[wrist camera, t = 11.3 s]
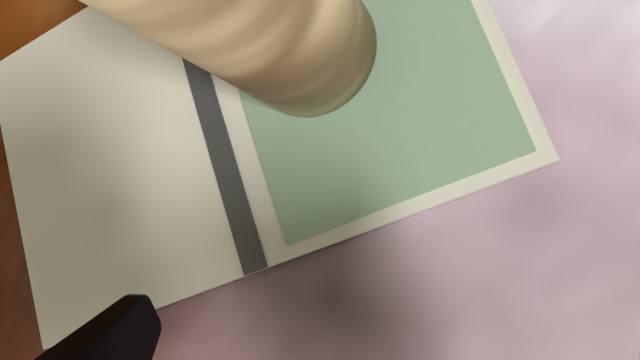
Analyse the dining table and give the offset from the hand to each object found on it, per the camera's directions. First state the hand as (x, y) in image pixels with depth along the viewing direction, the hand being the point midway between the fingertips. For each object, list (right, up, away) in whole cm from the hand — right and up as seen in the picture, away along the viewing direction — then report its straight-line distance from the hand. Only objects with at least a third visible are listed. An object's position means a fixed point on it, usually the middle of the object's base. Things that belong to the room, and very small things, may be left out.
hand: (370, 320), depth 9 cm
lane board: (-5, +6, +11) cm, 14 cm away
